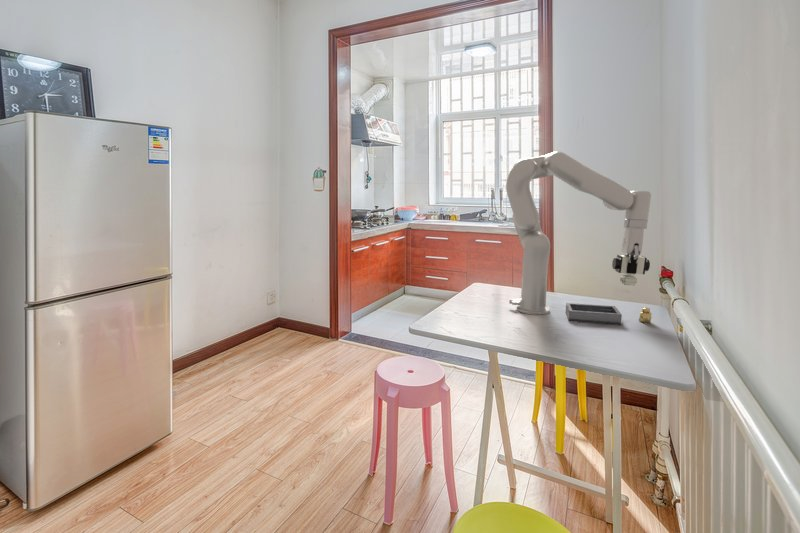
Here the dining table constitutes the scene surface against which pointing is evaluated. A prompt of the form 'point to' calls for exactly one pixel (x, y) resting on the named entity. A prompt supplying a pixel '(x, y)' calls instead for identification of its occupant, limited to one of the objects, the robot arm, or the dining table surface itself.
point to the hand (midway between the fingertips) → (629, 271)
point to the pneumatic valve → (621, 267)
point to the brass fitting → (645, 315)
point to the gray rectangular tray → (593, 314)
